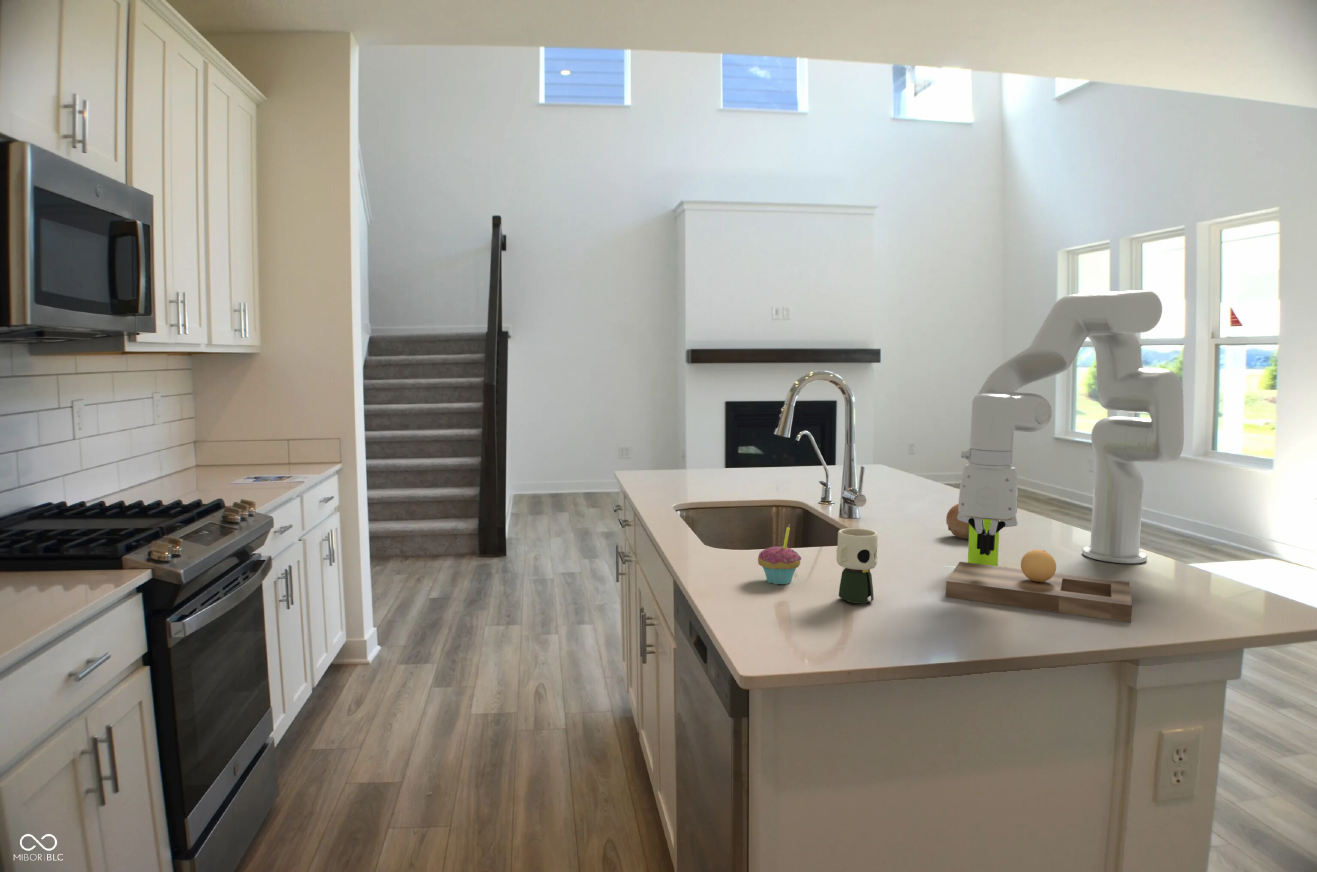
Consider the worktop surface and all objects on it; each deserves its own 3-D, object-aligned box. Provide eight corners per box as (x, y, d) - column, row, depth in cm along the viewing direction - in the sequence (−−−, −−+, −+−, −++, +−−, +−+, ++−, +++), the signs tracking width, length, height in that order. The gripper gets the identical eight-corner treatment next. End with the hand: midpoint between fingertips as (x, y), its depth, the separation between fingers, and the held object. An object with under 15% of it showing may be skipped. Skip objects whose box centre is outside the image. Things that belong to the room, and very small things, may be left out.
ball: (1021, 575, 152) (1022, 544, 151) (1056, 579, 149) (1057, 548, 148) (1018, 583, 147) (1020, 551, 146) (1054, 587, 144) (1056, 555, 143)
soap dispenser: (1005, 573, 164) (1009, 478, 162) (970, 572, 165) (974, 477, 163) (999, 566, 170) (1003, 474, 168) (965, 564, 171) (968, 473, 169)
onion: (980, 552, 194) (998, 519, 190) (943, 541, 194) (961, 509, 189) (971, 530, 203) (988, 499, 198) (936, 520, 202) (952, 488, 198)
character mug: (852, 611, 140) (853, 539, 138) (821, 601, 145) (822, 532, 144) (890, 600, 146) (892, 531, 145) (859, 591, 152) (861, 524, 151)
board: (959, 575, 162) (959, 561, 162) (1128, 597, 148) (1129, 581, 148) (945, 596, 149) (946, 580, 148) (1131, 622, 134) (1132, 605, 134)
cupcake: (805, 578, 160) (806, 520, 159) (793, 589, 153) (794, 529, 152) (764, 573, 164) (765, 517, 163) (751, 584, 156) (752, 525, 155)
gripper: (945, 457, 150) (941, 552, 152) (1032, 463, 143) (1026, 563, 145) (952, 454, 157) (947, 545, 158) (1035, 459, 150) (1029, 554, 151)
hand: (985, 553), depth 152 cm, fingers closed
